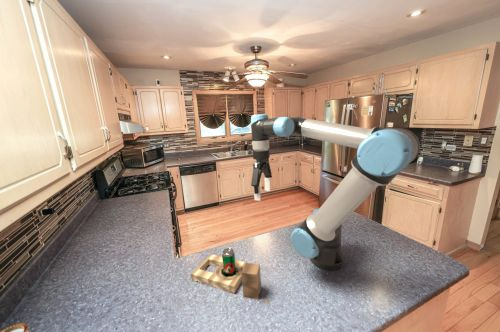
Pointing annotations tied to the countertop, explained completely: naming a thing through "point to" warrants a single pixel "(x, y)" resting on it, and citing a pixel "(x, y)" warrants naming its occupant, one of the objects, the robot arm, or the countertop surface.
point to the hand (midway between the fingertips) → (263, 195)
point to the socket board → (218, 274)
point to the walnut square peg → (251, 280)
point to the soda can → (229, 262)
